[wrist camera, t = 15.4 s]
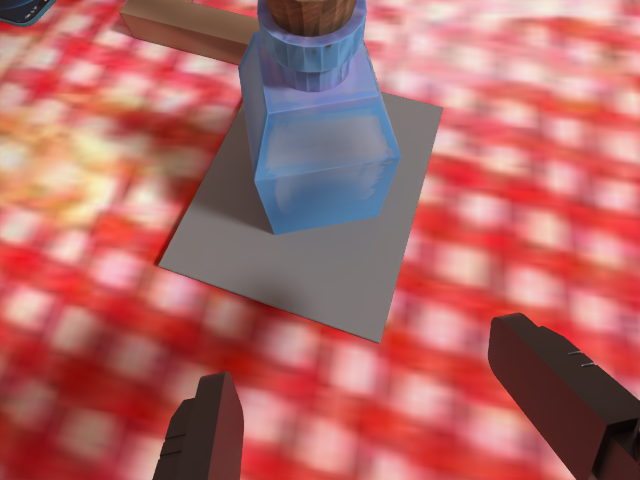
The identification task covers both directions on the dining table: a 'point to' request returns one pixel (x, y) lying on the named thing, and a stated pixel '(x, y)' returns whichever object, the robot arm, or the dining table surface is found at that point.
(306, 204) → the perfume bottle
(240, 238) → the rubber mat
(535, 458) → the dining table surface
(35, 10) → the smartphone
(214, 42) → the block
